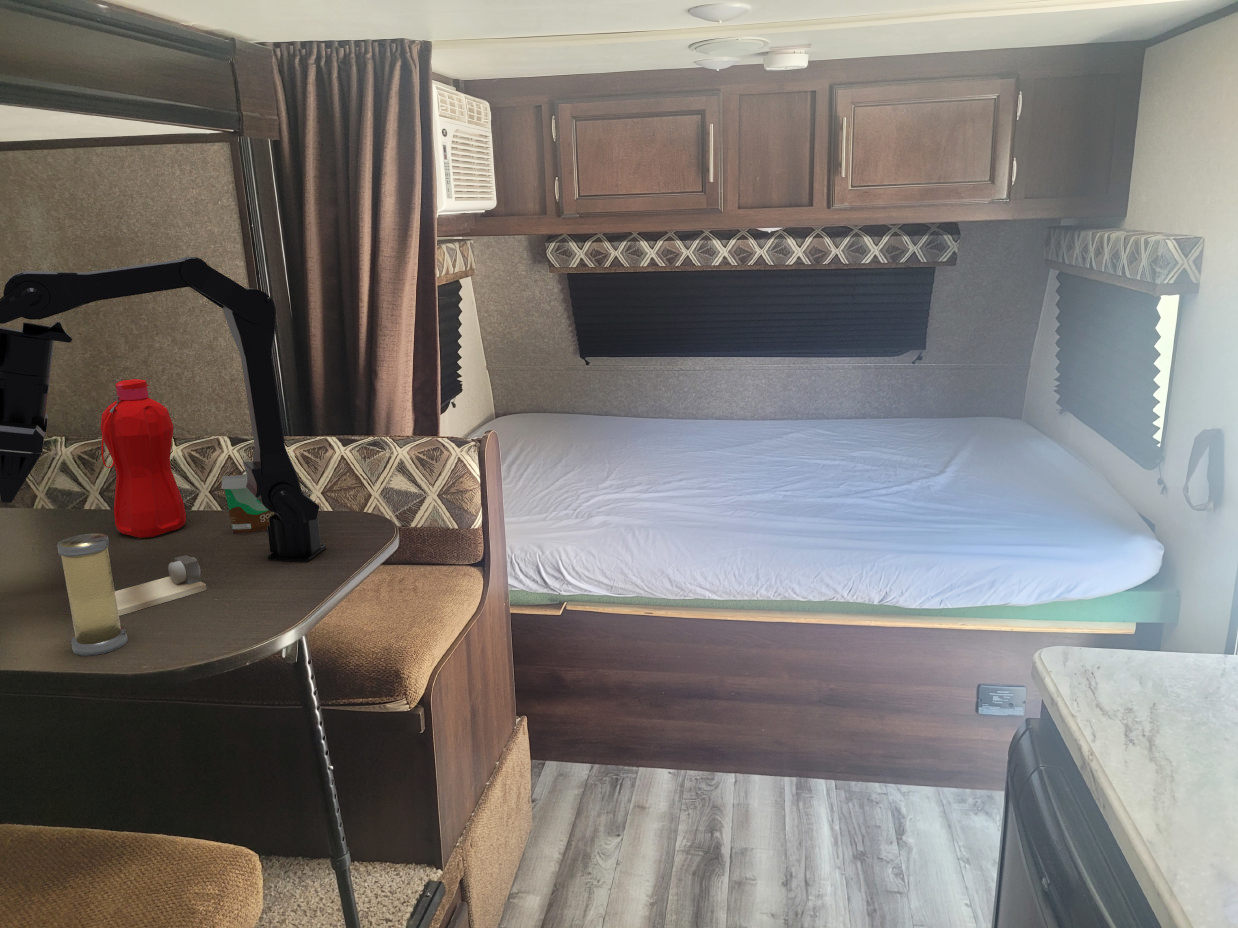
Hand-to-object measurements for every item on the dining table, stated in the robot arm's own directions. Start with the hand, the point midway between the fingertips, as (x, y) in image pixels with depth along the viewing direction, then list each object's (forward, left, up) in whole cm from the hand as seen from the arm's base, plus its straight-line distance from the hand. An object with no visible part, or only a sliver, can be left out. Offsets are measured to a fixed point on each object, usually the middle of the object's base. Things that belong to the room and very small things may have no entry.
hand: (9, 493), depth 111 cm
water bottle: (+4, -30, -15) cm, 34 cm away
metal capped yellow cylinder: (-17, +10, -15) cm, 25 cm away
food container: (-14, -35, -16) cm, 41 cm away
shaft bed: (-13, -4, -15) cm, 21 cm away
